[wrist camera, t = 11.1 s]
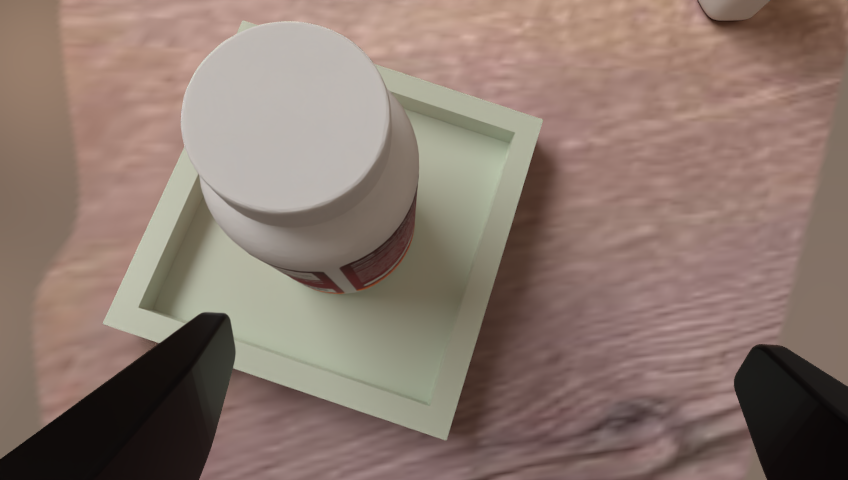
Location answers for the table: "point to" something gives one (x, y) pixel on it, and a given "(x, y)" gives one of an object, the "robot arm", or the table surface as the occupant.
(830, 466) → the robot arm
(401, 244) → the pill bottle
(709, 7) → the eye dropper bottle
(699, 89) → the table surface
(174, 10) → the table surface
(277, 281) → the tray
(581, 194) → the table surface
